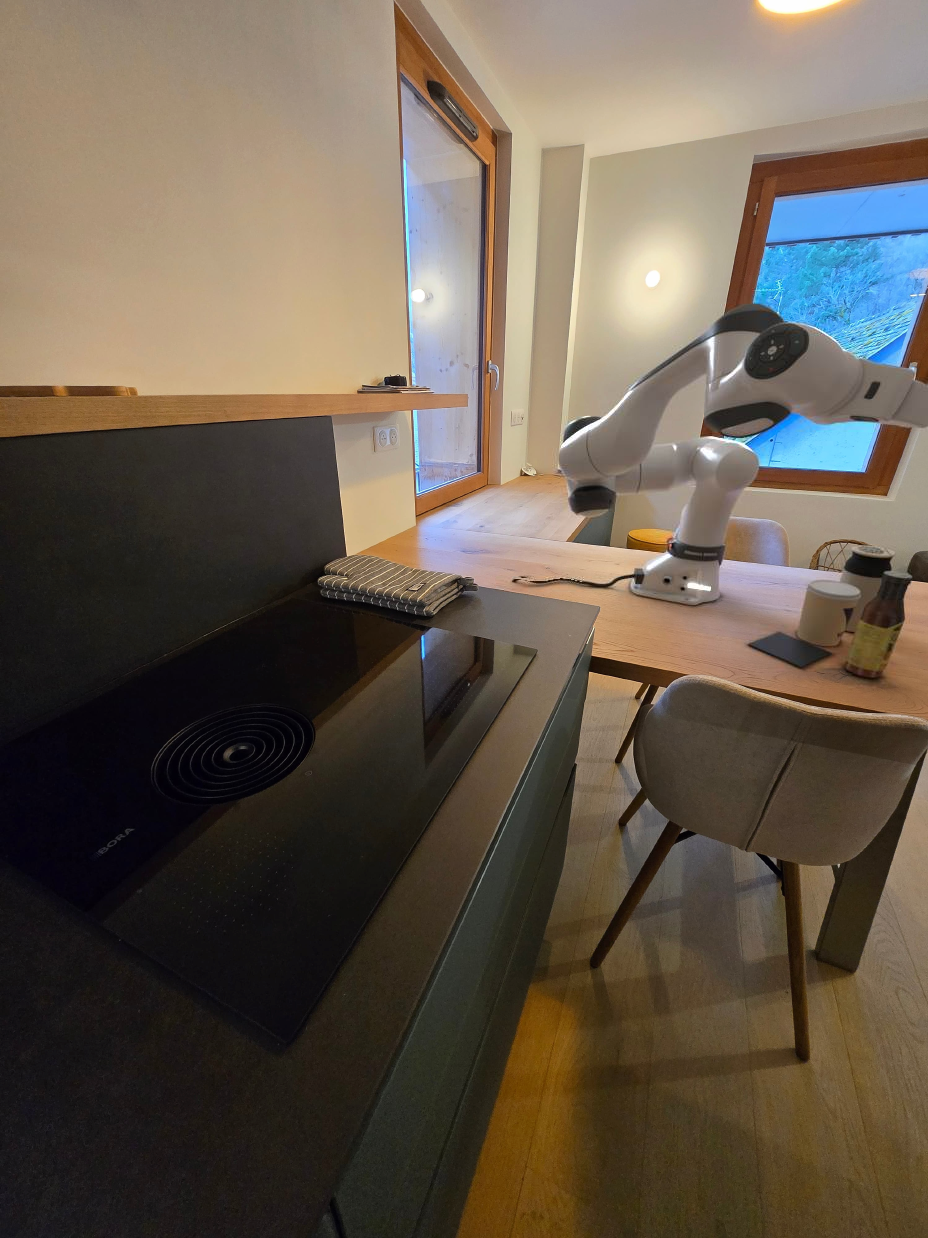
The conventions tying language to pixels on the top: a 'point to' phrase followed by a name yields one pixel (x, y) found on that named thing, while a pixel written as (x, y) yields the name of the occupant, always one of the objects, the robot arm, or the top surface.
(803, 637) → the coffee cup
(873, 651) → the sauce bottle
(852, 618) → the travel mug
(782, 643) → the coaster
